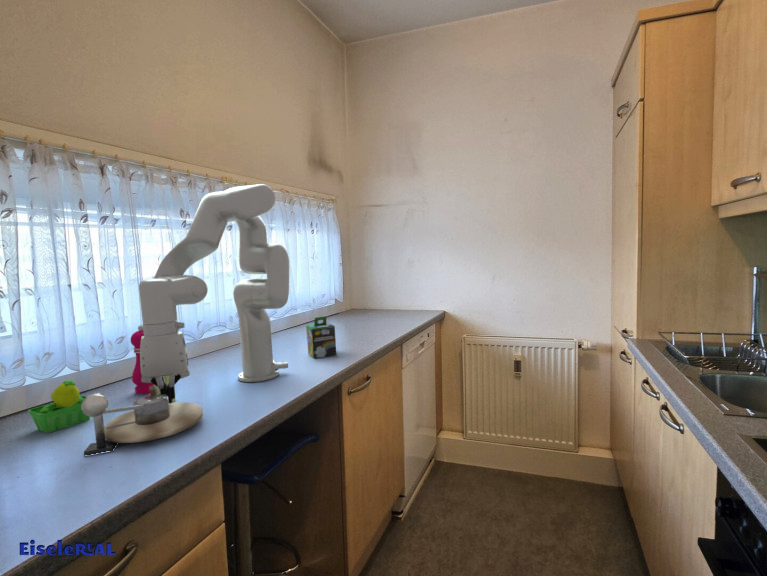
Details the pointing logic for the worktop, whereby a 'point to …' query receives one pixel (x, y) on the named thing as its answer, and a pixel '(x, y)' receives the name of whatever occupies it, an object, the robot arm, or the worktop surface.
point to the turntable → (130, 432)
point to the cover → (152, 409)
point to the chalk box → (321, 339)
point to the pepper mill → (136, 376)
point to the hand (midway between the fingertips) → (168, 402)
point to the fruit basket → (60, 409)
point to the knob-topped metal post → (100, 421)
